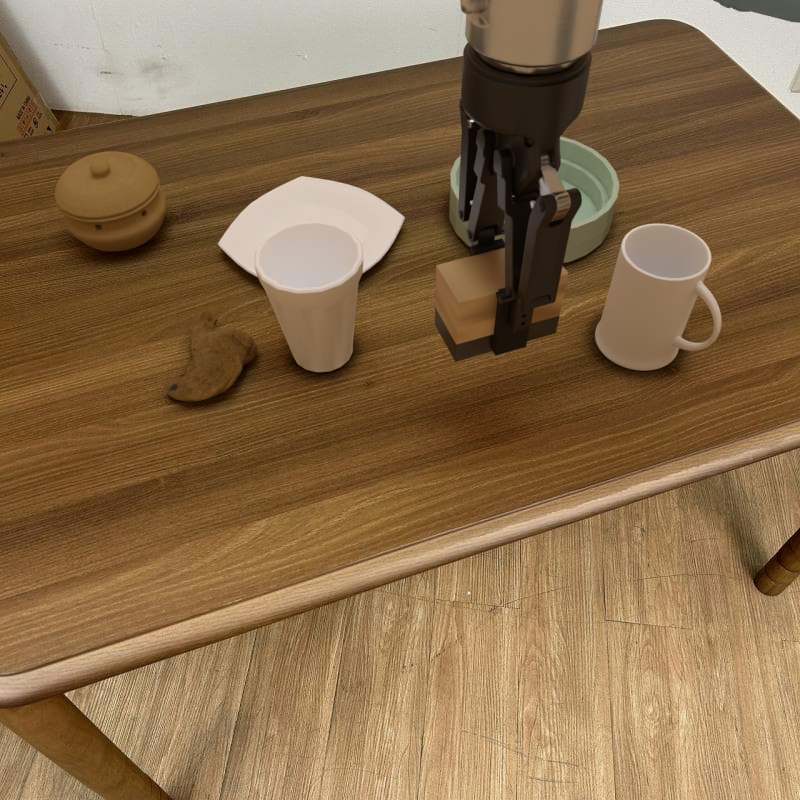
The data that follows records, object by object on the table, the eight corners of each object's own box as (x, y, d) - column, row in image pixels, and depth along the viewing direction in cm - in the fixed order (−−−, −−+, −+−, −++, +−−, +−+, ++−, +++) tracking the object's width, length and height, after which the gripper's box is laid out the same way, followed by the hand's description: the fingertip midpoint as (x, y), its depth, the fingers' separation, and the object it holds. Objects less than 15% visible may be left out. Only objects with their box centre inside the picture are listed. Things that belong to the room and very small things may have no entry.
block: (531, 297, 64) (541, 237, 59) (556, 333, 61) (568, 273, 56) (434, 324, 62) (436, 264, 57) (455, 362, 59) (458, 302, 54)
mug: (720, 368, 75) (764, 278, 65) (660, 405, 72) (696, 317, 63) (636, 301, 81) (665, 210, 72) (577, 332, 78) (599, 242, 69)
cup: (338, 403, 73) (325, 306, 63) (255, 367, 76) (230, 269, 66) (388, 337, 78) (384, 239, 68) (309, 306, 82) (294, 208, 71)
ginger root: (210, 321, 80) (202, 296, 78) (275, 364, 76) (269, 339, 73) (137, 375, 76) (126, 350, 73) (202, 424, 72) (193, 400, 69)
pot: (126, 193, 95) (99, 122, 87) (194, 223, 91) (173, 151, 83) (54, 244, 89) (19, 172, 81) (124, 278, 85) (94, 206, 77)
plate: (425, 226, 90) (426, 213, 88) (330, 322, 80) (328, 309, 78) (301, 177, 97) (299, 163, 95) (198, 259, 87) (194, 246, 85)
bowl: (632, 198, 93) (642, 160, 88) (571, 291, 82) (580, 252, 78) (492, 155, 99) (496, 117, 95) (419, 236, 89) (420, 197, 85)
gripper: (414, -7, 48) (415, 270, 66) (537, 135, 37) (498, 418, 55) (520, -25, 49) (492, 250, 67) (667, 106, 39) (587, 390, 57)
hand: (495, 325), depth 61 cm, fingers closed on block, 4 cm apart
